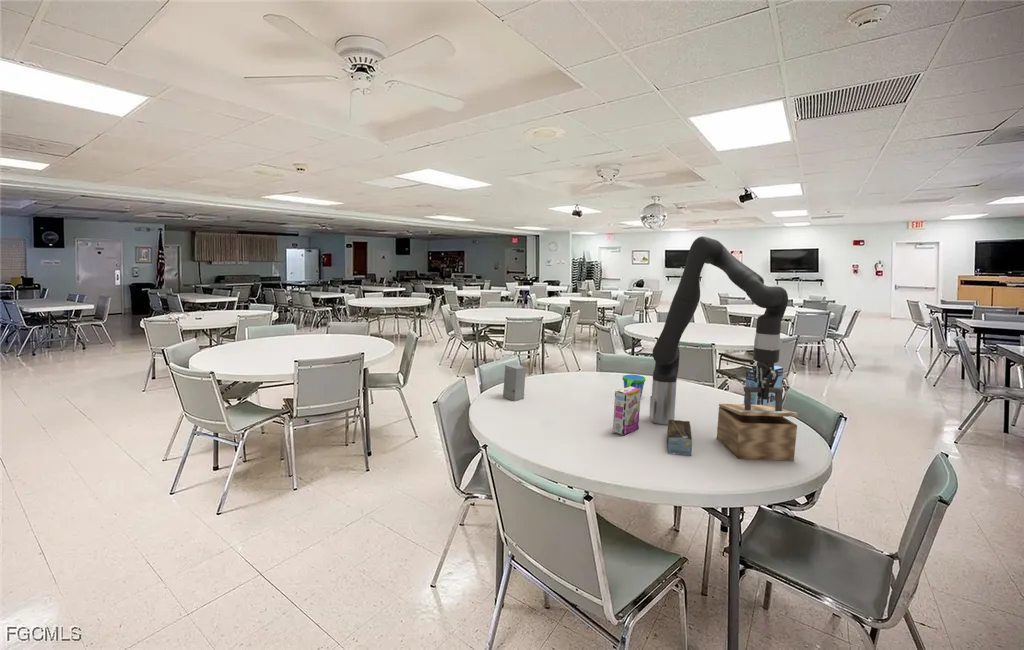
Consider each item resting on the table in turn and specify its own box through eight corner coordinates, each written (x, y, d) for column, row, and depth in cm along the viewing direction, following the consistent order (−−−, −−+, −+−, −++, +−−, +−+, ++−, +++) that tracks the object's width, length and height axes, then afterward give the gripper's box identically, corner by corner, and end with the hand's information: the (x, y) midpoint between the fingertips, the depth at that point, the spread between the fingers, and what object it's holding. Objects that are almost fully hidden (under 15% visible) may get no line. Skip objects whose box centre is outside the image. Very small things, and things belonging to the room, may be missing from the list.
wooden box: (737, 458, 152) (740, 423, 150) (716, 438, 170) (718, 407, 168) (793, 460, 151) (797, 425, 149) (766, 440, 169) (769, 408, 167)
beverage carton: (666, 453, 156) (667, 434, 155) (667, 434, 174) (668, 417, 173) (691, 456, 153) (692, 437, 153) (689, 437, 172) (690, 420, 171)
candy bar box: (623, 436, 171) (625, 393, 169) (612, 432, 174) (614, 390, 172) (639, 429, 179) (641, 388, 177) (628, 426, 182) (630, 385, 180)
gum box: (766, 418, 194) (771, 364, 191) (779, 421, 189) (784, 367, 187) (740, 426, 183) (745, 370, 180) (753, 430, 179) (758, 372, 176)
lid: (740, 415, 150) (741, 387, 150) (718, 406, 168) (719, 382, 168) (797, 416, 149) (797, 389, 149) (769, 407, 167) (769, 383, 167)
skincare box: (502, 397, 219) (503, 365, 217) (513, 395, 224) (514, 363, 222) (514, 401, 213) (515, 368, 211) (525, 398, 218) (526, 366, 216)
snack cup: (636, 403, 213) (637, 381, 212) (615, 399, 220) (616, 378, 218) (649, 396, 225) (650, 375, 224) (629, 392, 232) (630, 372, 230)
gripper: (745, 343, 159) (742, 392, 161) (765, 350, 146) (760, 403, 148) (768, 344, 159) (764, 393, 161) (789, 350, 145) (785, 404, 147)
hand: (762, 398), depth 154 cm, fingers closed on lid, 2 cm apart
